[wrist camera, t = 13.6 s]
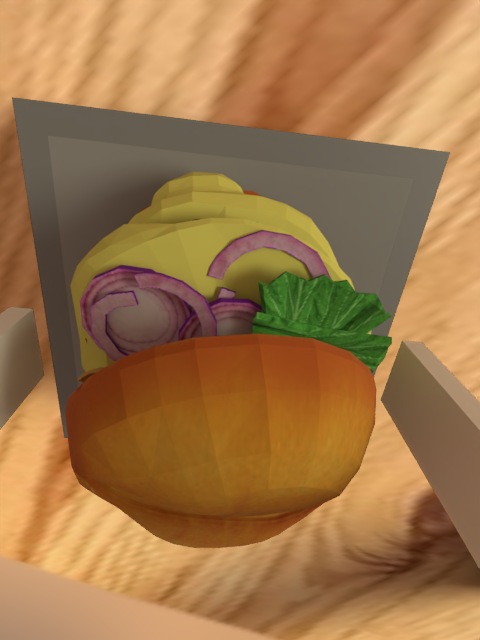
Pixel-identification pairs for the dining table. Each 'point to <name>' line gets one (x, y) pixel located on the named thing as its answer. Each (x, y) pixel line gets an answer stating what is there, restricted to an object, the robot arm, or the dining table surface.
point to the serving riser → (211, 157)
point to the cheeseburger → (220, 366)
